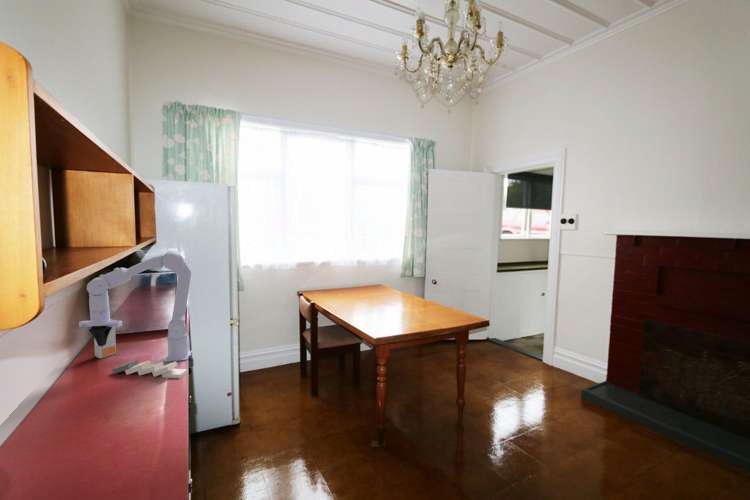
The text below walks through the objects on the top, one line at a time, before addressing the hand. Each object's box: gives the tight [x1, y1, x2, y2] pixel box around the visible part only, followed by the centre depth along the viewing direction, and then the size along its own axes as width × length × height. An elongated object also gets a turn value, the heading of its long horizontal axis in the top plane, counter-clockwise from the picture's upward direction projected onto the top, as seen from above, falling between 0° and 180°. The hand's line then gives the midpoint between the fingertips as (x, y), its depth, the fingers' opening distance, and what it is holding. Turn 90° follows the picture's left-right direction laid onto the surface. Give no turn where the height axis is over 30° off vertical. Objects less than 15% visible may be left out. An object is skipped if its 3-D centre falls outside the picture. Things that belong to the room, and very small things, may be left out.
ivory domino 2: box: [137, 361, 165, 377], centre depth 126 cm, size 2×4×7 cm
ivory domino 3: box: [151, 361, 179, 378], centre depth 124 cm, size 2×4×7 cm
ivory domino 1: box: [124, 359, 152, 376], centre depth 126 cm, size 2×4×7 cm
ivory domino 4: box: [161, 368, 189, 379], centre depth 125 cm, size 2×4×7 cm
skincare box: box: [93, 327, 117, 359], centre depth 142 cm, size 6×4×12 cm
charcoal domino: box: [111, 359, 140, 375], centre depth 127 cm, size 2×4×7 cm
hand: (102, 345), depth 127 cm, fingers closed
